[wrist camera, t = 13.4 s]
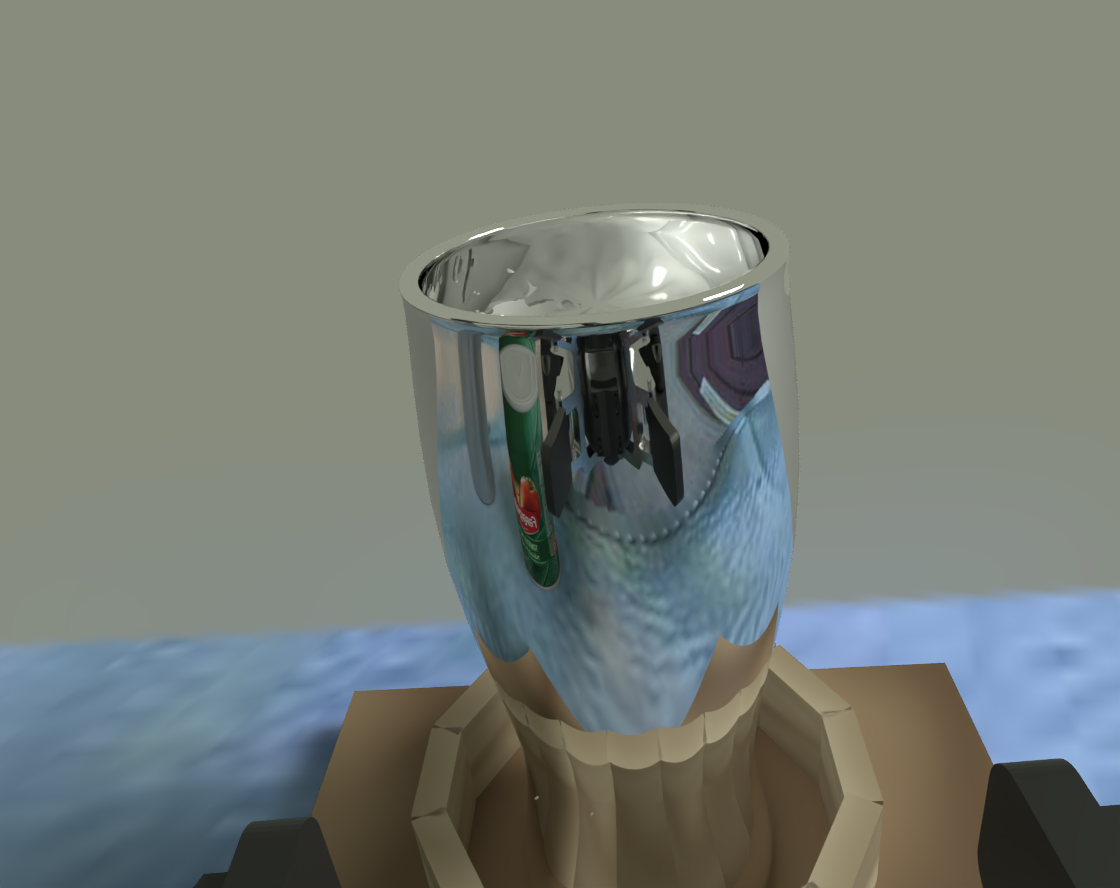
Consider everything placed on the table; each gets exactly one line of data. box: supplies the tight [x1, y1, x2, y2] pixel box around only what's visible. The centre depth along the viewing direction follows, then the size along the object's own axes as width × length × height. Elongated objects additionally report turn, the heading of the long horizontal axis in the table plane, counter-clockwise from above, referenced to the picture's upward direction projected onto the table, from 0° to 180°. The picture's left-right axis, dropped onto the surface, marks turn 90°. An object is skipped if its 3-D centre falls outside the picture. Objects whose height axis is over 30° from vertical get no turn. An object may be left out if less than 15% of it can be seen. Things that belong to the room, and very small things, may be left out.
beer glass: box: [399, 203, 800, 888], centre depth 19 cm, size 7×7×15 cm
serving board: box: [310, 643, 993, 888], centre depth 22 cm, size 18×11×4 cm, turn 87°
